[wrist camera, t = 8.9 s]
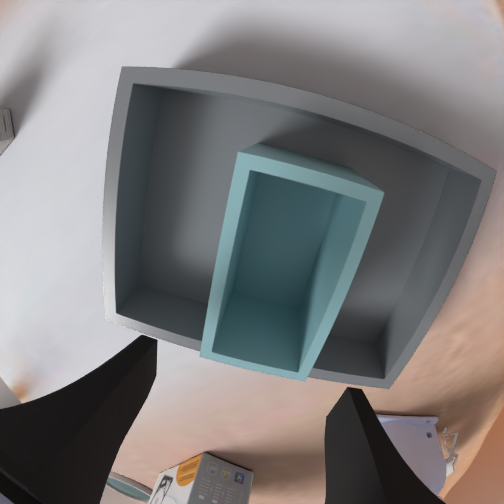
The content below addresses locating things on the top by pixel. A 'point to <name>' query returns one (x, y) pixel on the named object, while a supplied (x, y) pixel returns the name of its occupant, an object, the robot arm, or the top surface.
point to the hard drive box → (203, 483)
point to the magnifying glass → (128, 487)
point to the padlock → (5, 129)
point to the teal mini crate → (285, 259)
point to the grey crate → (216, 197)
